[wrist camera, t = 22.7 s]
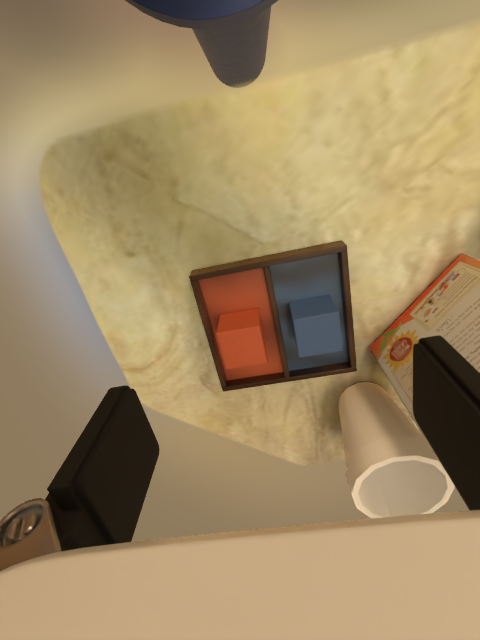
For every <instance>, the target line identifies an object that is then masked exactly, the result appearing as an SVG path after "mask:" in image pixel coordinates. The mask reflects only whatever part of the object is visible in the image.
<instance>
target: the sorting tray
mask: <svg viewBox="0 0 480 640" xmlns="http://www.w3.org/2000/svg"><path fill="white" fill-rule="evenodd" d="M189 278H190V281H191V285H192V288H193V292H194V295H195V298H196V302H197V305H198V309H199V312H200V315H201V319H202V322H203V325H204V329H205V332H206V336H207V339H208V342H209V346H210V349H211V352H212V356H213V359H214V363H215V366H216V369H217V373H218V376H219V379H220V383H221V386H222V390H223V391H229V390H236V389H242V388H249V387H256V386H262V385H269V384H275V383H282V382H289V381H295V380H302V379H308V378H315V377H321V376H328V375H335V374H341V373H348V372H354V371H357V368H356V355H355V343H354V331H353V318H352V306H351V294H350V281H349V269H348V257H347V245H346V244H345V243H344V242H343V241H337V242H332V243H327V244H322V245H317V246H312V247H307V248H302V249H297V250H292V251H287V252H282V253H278V254H273V255H268V256H263V257H258V258H253V259H248V260H243V261H238V262H233V263H228V264H223V265H218V266H213V267H208V268H203V269H198V270H193V271H192V272H191V274H190V276H189ZM326 295H330V297H331V298H332V300H333V302H334V304H335V306H336V308H337V310H338V312H339V319H340V329H341V339H342V349H343V350H342V351H337V352H331V353H325V354H318V355H312V356H306V357H299V355H298V350H297V346H296V341H295V337H294V331H293V325H292V319H291V313H290V307H289V302H293V301H299V300H304V299H310V298H315V297H321V296H326ZM255 308H259V310H260V315H261V320H262V324H263V329H264V334H265V339H266V348H267V363H262V364H256V365H250V366H244V367H237V368H231V369H226V367H225V363H224V359H223V356H222V352H221V349H220V345H219V342H218V338H217V334H216V332H217V328H218V323H219V318H220V315H222V314H227V313H233V312H238V311H244V310H249V309H255Z"/></svg>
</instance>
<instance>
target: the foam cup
mask: <svg viewBox="0 0 480 640" xmlns="http://www.w3.org/2000/svg"><path fill="white" fill-rule="evenodd" d="M338 405H339V414H340V421H341V429H342V436H343V443H344V451H345V458H346V466H347V471H346V476H347V480H348V484H349V487H350V491H351V495H352V497H353V500H354V502H355V505H356V507H357V509H359V510H360V511H362V512H363V513H364V514H366V515H367V516H369V517H370V518H383V517H394V516H405V515H417V514H430V513H433V512H435V511H436V510H437V509H438V508H440V507H441V506H442V505H444V504H445V503H446V502H447V501H448V499H449V497H450V495H451V493H452V491H453V489H454V484H453V482H452V481H451V479H450V478H449V476H448V474H447V473H446V471H445V470H444V468H443V466H442V465H441V463H440V462H439V460H438V458H437V457H436V455H435V454H434V452H433V451H432V449H431V447H430V446H429V444H428V443H427V441H426V439H425V438H424V436H423V435H422V434H421V433H420V431H419V430H418V429H417V428H416V427H415V425H414V424H413V423H412V422H411V420H410V419H409V418H408V417H407V416H406V414H405V413H404V412H403V411H402V410H401V408H400V407H399V406H398V405H397V403H396V402H395V401H394V400H393V399H392V397H391V396H390V395H389V394H388V393H387V392H386V390H384V389H383V388H382V387H381V386H380V385H379V384H375V383H371V382H362V383H356V384H354V385H352V386H350V387H348V388H347V389H346V390H345V391H344V392H343V393H342V394H341V395H340V399H339V403H338Z"/></svg>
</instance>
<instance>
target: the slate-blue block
mask: <svg viewBox="0 0 480 640" xmlns="http://www.w3.org/2000/svg"><path fill="white" fill-rule="evenodd" d="M289 307H290V313H291V319H292V325H293V331H294V337H295V341H296V346H297V350H298V355H299V357H306V356H312V355H318V354H325V353H331V352H337V351H342V350H343V349H342V339H341V329H340V319H339V312H338V310H337V308H336V306H335V304H334V302H333V300H332V298H331V297H330V295H326V296H321V297H315V298H310V299H304V300H299V301H293V302H289Z"/></svg>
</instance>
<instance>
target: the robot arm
mask: <svg viewBox="0 0 480 640" xmlns="http://www.w3.org/2000/svg"><path fill="white" fill-rule="evenodd" d="M413 415H414V418H415V420H416V422H417V424H418V425H419V427H420V429H421V430H422V432H423V434H424V435H425V437H426V439H427V440H428V442H429V444H430V445H431V447H432V449H433V450H434V452H435V454H436V455H437V457H438V458H439V460H440V462H441V463H442V465H443V467H444V468H445V470H446V472H447V473H448V475H449V477H450V478H451V480H452V482H453V483H454V485H455V487H456V488H457V490H458V492H459V493H460V495H461V496H462V498H463V500H464V501H465V503H466V505H467V506H468V508H469V510H470V511H457V512H444V513H430V514H417V515H405V516H394V517H383V518H372V519H361V520H350V521H339V522H328V523H318V524H306V525H296V526H286V527H275V528H265V529H255V530H244V531H234V532H223V533H213V534H204V535H194V536H184V537H175V538H164V539H155V540H145V541H135V542H131V540H132V537H133V534H134V531H135V528H136V524H137V521H138V518H139V515H140V512H141V509H142V506H143V503H144V500H145V496H146V493H147V490H148V487H149V484H150V481H151V478H152V474H153V471H154V468H155V465H156V462H157V459H158V455H159V445H158V442H157V440H156V438H155V435H154V433H153V430H152V428H151V426H150V423H149V421H148V419H147V417H146V414H145V412H144V410H143V408H142V405H141V403H140V401H139V398H138V396H137V394H136V392H135V390H134V389H130V387H129V386H120V387H113V388H110V389H109V390H108V392H107V394H106V395H105V397H104V398H103V400H102V402H101V403H100V405H99V406H98V408H97V410H96V411H95V413H94V414H93V416H92V418H91V419H90V421H89V423H88V424H87V426H86V427H85V429H84V431H83V432H82V434H81V435H80V437H79V439H78V440H77V442H76V444H75V445H74V447H73V448H72V450H71V452H70V453H69V455H68V456H67V458H66V460H65V461H64V463H63V465H62V466H61V468H60V469H59V471H58V472H57V474H56V476H55V477H54V479H53V480H52V482H51V484H50V485H49V487H48V489H47V490H48V491H49V494H48V496H47V497H46V499H45V500H44V499H42V498H37V499H32V500H28V501H26V502H24V503H22V504H20V505H18V506H17V507H15V508H14V509H13V510H11V511H10V512H9V513H8V514H7V515H6V516H4V517H3V519H1V521H0V640H480V373H479V372H478V371H477V370H476V369H475V368H474V367H473V366H472V365H471V364H470V363H469V362H468V361H467V360H466V359H465V358H464V357H463V356H462V355H461V354H460V353H459V352H458V351H457V350H456V349H455V348H453V347H452V346H451V345H450V344H449V343H448V342H447V341H446V340H445V339H444V338H443V337H442V336H440V335H438V336H431V337H425V338H420V339H419V341H418V343H417V344H414V345H413Z"/></svg>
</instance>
